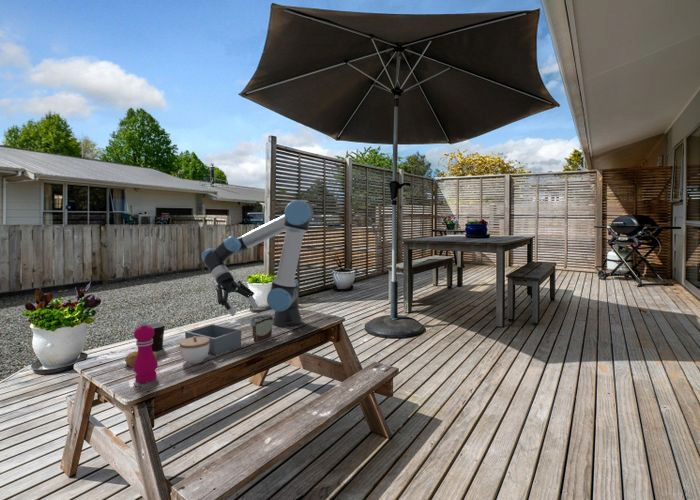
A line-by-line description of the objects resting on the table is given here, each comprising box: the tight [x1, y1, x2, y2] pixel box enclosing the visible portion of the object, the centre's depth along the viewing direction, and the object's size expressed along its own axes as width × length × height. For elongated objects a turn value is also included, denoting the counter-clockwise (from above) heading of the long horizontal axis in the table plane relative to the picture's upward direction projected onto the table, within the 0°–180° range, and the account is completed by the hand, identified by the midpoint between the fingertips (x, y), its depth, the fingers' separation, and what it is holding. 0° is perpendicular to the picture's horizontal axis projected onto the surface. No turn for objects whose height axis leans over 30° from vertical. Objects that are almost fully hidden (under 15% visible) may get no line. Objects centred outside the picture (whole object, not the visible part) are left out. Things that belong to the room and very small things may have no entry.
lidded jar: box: [179, 336, 210, 364], centre depth 140 cm, size 11×11×9 cm
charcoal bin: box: [184, 323, 242, 357], centre depth 155 cm, size 14×18×7 cm
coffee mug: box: [147, 322, 166, 352], centre depth 153 cm, size 12×9×10 cm
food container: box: [250, 314, 274, 344], centre depth 166 cm, size 12×6×10 cm, turn 150°
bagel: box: [124, 351, 158, 368], centre depth 138 cm, size 10×11×5 cm
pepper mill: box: [132, 320, 159, 384], centre depth 123 cm, size 7×7×20 cm
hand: (245, 311), depth 169 cm, fingers open, 13 cm apart
